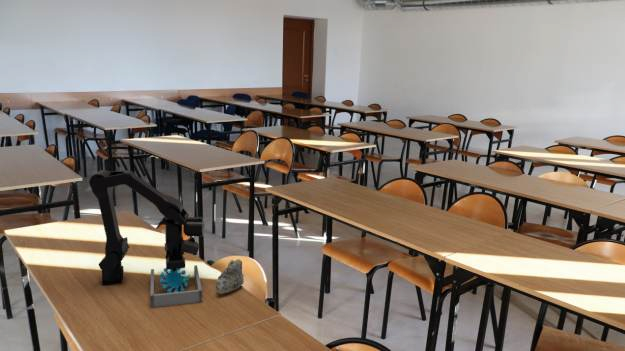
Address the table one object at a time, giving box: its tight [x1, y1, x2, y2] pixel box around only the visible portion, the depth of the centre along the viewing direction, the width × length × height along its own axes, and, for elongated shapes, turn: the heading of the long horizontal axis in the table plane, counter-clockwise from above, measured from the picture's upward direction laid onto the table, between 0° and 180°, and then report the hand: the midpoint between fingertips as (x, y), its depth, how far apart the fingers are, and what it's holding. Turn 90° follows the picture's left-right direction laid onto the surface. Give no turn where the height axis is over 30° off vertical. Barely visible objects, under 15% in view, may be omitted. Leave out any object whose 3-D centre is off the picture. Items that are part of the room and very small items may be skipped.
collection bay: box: [149, 264, 203, 308], centre depth 159 cm, size 16×20×4 cm
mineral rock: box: [214, 258, 245, 295], centre depth 162 cm, size 13×11×10 cm
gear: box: [158, 267, 192, 293], centre depth 160 cm, size 11×6×10 cm
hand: (175, 276), depth 166 cm, fingers closed
